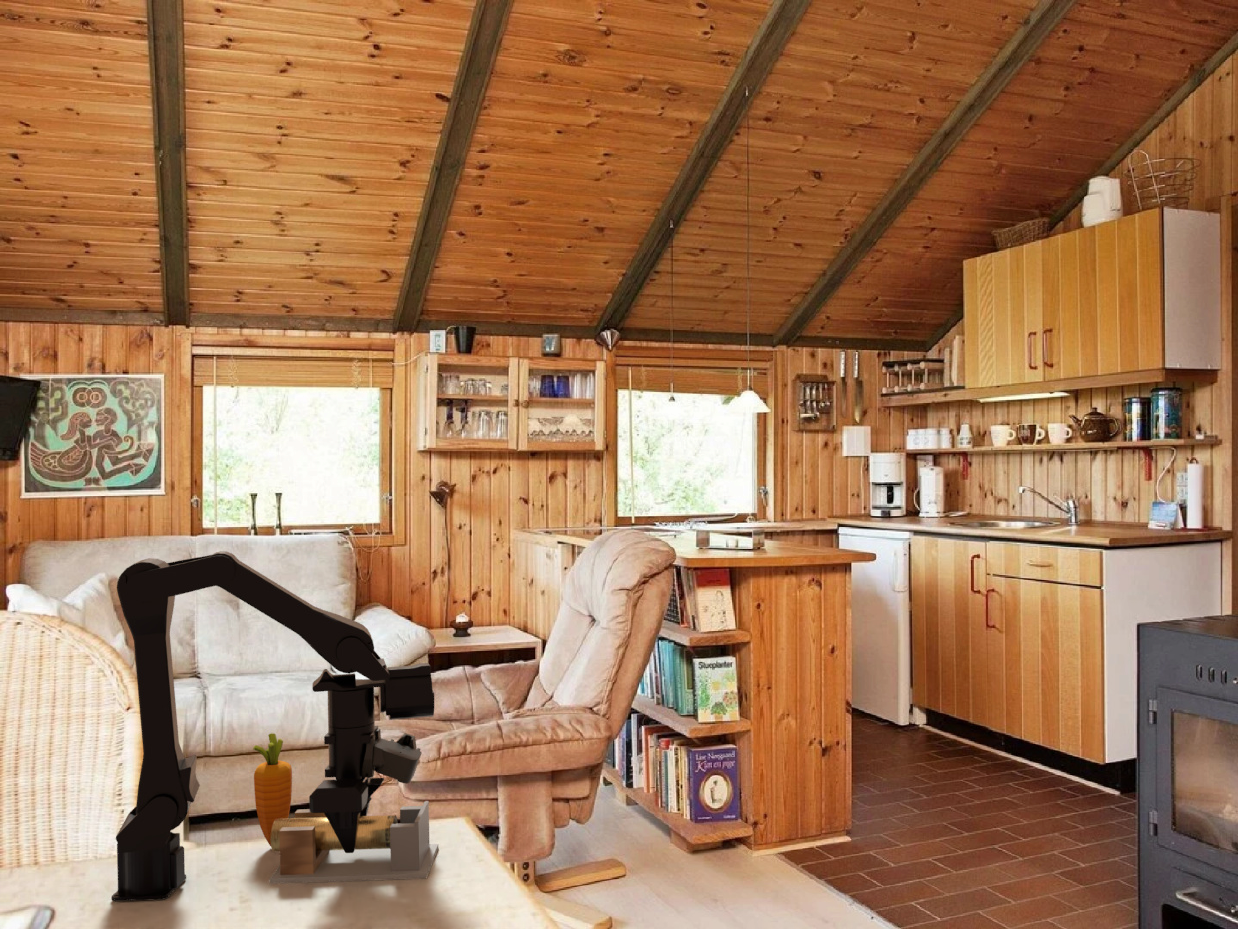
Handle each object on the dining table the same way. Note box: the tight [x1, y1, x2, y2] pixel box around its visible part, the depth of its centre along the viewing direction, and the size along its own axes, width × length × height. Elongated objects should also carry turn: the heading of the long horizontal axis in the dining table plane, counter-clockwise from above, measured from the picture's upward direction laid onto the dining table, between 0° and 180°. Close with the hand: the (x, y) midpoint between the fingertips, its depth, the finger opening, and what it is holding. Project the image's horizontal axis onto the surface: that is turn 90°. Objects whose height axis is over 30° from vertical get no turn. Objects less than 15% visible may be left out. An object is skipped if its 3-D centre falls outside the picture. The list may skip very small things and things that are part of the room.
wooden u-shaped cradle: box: [279, 808, 328, 875], centre depth 132 cm, size 4×8×5 cm, turn 2°
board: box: [269, 843, 439, 884], centre depth 132 cm, size 19×10×1 cm, turn 92°
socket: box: [390, 800, 430, 871], centre depth 132 cm, size 4×8×6 cm, turn 1°
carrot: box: [253, 732, 293, 847], centre depth 139 cm, size 5×5×15 cm
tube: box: [270, 814, 399, 853], centre depth 132 cm, size 15×4×4 cm, turn 92°
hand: (353, 846), depth 132 cm, fingers closed on tube, 4 cm apart
